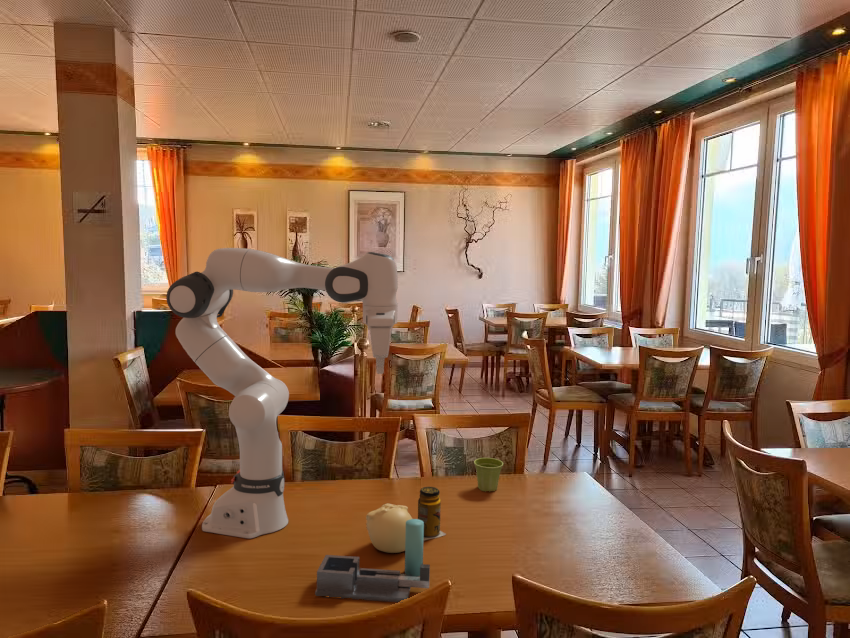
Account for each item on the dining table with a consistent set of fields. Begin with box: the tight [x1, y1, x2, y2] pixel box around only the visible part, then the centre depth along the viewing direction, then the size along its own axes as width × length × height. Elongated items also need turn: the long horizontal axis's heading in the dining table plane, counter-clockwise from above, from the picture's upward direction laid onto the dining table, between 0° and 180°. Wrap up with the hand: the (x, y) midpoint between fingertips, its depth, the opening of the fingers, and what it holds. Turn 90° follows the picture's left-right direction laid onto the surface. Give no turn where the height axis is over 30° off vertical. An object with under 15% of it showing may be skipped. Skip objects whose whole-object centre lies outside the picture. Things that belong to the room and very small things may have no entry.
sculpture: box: [365, 503, 413, 554], centre depth 157 cm, size 11×12×11 cm
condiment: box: [417, 486, 447, 542], centre depth 165 cm, size 7×8×12 cm
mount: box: [314, 554, 412, 603], centre depth 137 cm, size 20×10×5 cm, turn 85°
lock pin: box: [375, 563, 431, 589], centre depth 136 cm, size 12×2×5 cm, turn 85°
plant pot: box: [473, 457, 504, 493], centre depth 198 cm, size 9×9×9 cm
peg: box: [404, 518, 424, 577], centre depth 144 cm, size 4×4×12 cm
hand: (379, 370), depth 159 cm, fingers open, 8 cm apart
